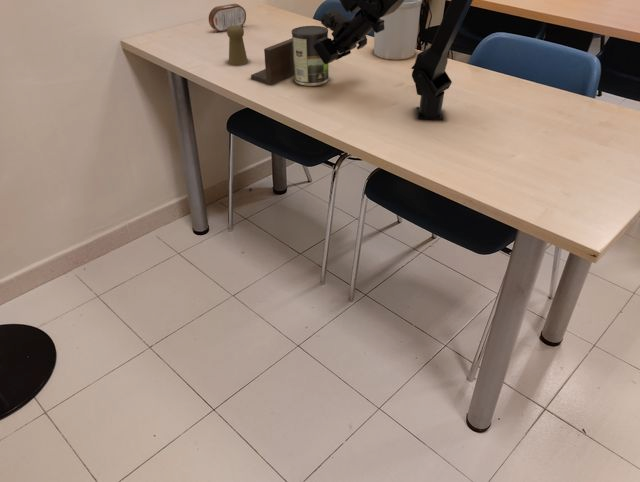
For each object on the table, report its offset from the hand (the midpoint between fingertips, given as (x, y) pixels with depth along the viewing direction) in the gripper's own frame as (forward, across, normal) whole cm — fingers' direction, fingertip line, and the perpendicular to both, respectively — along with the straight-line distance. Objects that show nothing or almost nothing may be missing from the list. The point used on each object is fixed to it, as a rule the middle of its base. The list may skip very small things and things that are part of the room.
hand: (323, 61), depth 143 cm
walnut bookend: (+16, 0, -6) cm, 17 cm away
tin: (+48, -22, -38) cm, 65 cm away
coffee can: (+8, 0, +2) cm, 8 cm away
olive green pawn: (+28, +2, -18) cm, 33 cm away
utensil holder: (+3, -36, +7) cm, 37 cm away
